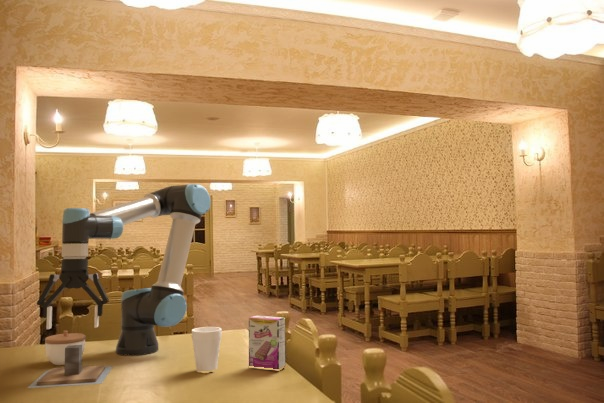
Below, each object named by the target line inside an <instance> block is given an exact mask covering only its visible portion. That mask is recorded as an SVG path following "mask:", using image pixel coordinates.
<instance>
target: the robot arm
mask: <svg viewBox="0 0 604 403" xmlns="http://www.w3.org/2000/svg"><path fill="white" fill-rule="evenodd" d="M211 203H212V202H211V196H210V194H209V192H208V189H206V187H205V186H203V185H201V184H198V183H188V184H181V185H179V184H177V185H168V186H166V187H163V188H160V189H158V190H155V191H153V192H149V193H146V194H144V196H143V197H142V198H139V199H135V200H131V201H128V202H124V203H121V204H118V205H115V206H111V207H108V208H107V207H106V208H103V209H100V210H98V211H94V212H90V210H89V208H85V207H84V208H83V207H66V208H65V209H64V210H63V214H62V221H61V224H62V233H61V234H62V235H61V237H62V240H61V257H62V259H61V262H60V263H61V264H60V266H61V267H60V268H61V269H60V274H56V273H51V274H49V276H48V277H49V278H48V282H47V284H46V286H45V288H44V289H43V291H42V293H41V295H40V296H39V298H38V300H37V302H36V304H37V306H41V307H43V311H42V312H43V313H42V314H43V315H42V316H43V318H45V319H46V330H50V329H53V328H52V326H53V324H52V322H53V306H51V304H52V303H53V302H54V301H55V300H56V299H57V298H58V297H59V295H60V294H61V293H62V292H63V291H64V290H65V289H68V290H70V289H81V288H82V289H83V291H85V292H86V294H88V295H89V297H90V298H91V299H92V300H93V301H94V302H95V304H96V305H95V306H94V319H93V320H94V321H93V322H94V325H93V327H94V328H95V329H97V328H98V327H99V326H100V324H99V321H100V317H102V315H103V310H104V309H103V306H104V305H105V304H108V303H109V301H110V299H109V297H108V295H107V293H106V291H105V289H104V288H103V285H102V284H101V281H100V278H99V273H98V272H96V273H91V274H89V270H88V269H89V265H88V264H89V260H88V258H87V257H89V240H94V239H95V240H98V239H99V240H101V239H103V240H104V239H105V240H107V239H108V240H111V239H112V240H113V239H118V238H120V237H121V236H122V235H123V233H124V226H125V225H127V224H131V223H134V222H137V221H139V220H140V221H141V220H143V219H146V218H149V217H150V218H153V219H154V218H157V217H160V216H170V218H171V219H172V221H171V225H170V226H171V227H170V230H169V233H168V236H167V241H166V246H165V250H164V254H163V258H162V262H161V265H160V269H159V273H158V278H157V280H156V282H155V283H154V284H152V285H151V287H147V288H145V287H144V288H139V289H138V288H137V289H130V290H129V289H128V290H125V291H123V293H121V300H120V303H121V304H120V306H121V309H120V310H121V314H120V316H121V319H120V322H121V324H120V325H121V328H120V330H121V331H120V334H119V338H118V340H117V343H116V346H115V353H116V354H117V355H119V356H120V355H121V356H142V355H148V354H151V353H152V354H153V353H156V352H158V351H159V341H158V339H157V335H156V331H155V326H157V327H163V328H164V327H165V328H166V327H170V328H171V327H174V326H176V325H178V324H179V323H180V322H181V321H182V320H183V319H184V318H185V315H186V312H187V308H188V306H187V302H186V301H187V300H186V298H185V297H184V292H185V291H184V289H183V287H182V283H183V282H182V281H183V277H184V274H185V270H186V265H187V261H188V257H189V252H190V250H191V244H192V240H193V237H194V232H195V231H194V230H195V227H196V225H197V224H199V223H200V222H201V219H202V215H205V214H207V212H209V211H210V208H211V205H212V204H211ZM58 280H59V281H61V284H60V285H59V286H58V287H57V289H56V290H54V292H53V293H52V294H51V296H49V298H47V297H48V295H49V293H50V291H51V290H52V289H53V286H54V284H55V282H58ZM88 280H91V281H92V282H93V284H94V285H95V288H96V290H97V292H98V294H99V296H100V297H99V296H98V295H97V294H96V293H95V291H94V289H92V288H91V286H90V285H89V284H88V283H87V281H88ZM46 298H47V300H46ZM101 299H102V300H101ZM94 328H93V329H94Z"/></svg>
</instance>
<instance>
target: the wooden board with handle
mask: <svg viewBox="0 0 604 403" xmlns="http://www.w3.org/2000/svg"><path fill="white" fill-rule="evenodd" d="M105 367H107V366H106V365H105V364H103V365H101V364H100V365H86V366H83V354H82V345H68V346H67V347H66V348H65V365H64V367H54V368H52V367H51V369H49V370H50V371H49V372H48V373H46V374H45V375H44V376H43V377H42V378H41V379H40V380H39V381H38V382H37V386H40V385H56V384H72V383H88V382H96V381H97V380H98V378H99V377H100V375H101V374H102V373H103V371H104V370H105Z"/></svg>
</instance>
